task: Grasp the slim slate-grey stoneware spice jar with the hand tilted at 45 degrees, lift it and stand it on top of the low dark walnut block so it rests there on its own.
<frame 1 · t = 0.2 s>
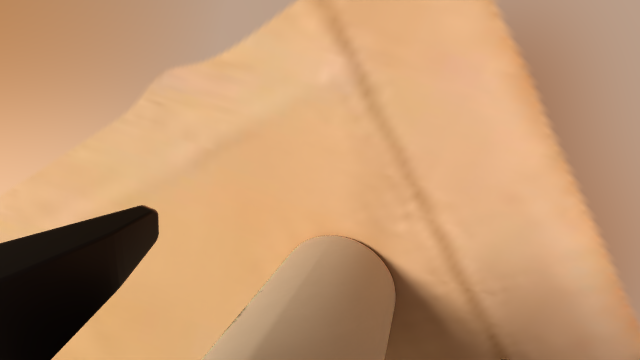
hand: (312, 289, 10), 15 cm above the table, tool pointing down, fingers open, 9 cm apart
travel mug: (338, 286, 27), on the table
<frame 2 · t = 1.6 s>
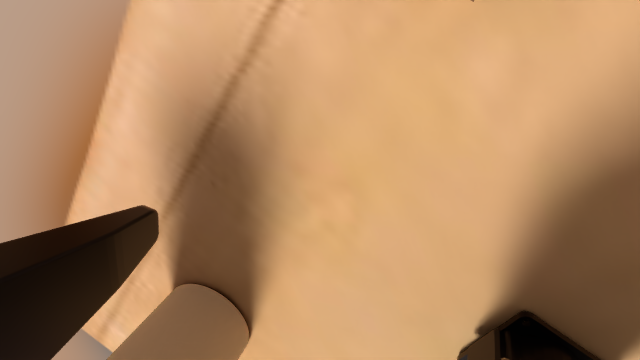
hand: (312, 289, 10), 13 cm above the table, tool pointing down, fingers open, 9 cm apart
travel mug: (212, 315, 35), on the table
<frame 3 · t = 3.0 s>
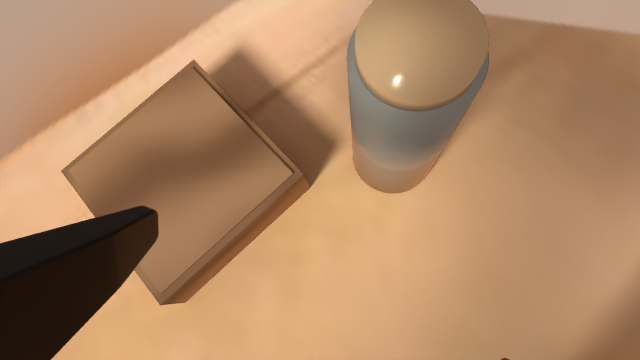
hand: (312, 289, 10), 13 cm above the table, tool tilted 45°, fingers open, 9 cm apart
walnut block: (199, 185, 25), on the table
spice jar: (392, 155, 24), on the table
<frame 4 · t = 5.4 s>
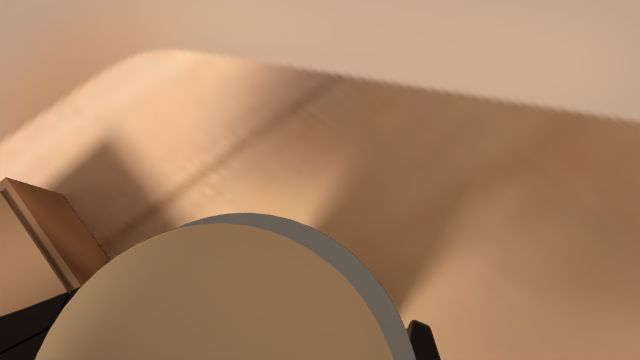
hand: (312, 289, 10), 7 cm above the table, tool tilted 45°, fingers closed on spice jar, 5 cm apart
spice jar: (317, 320, 16), on the table, touching gripper
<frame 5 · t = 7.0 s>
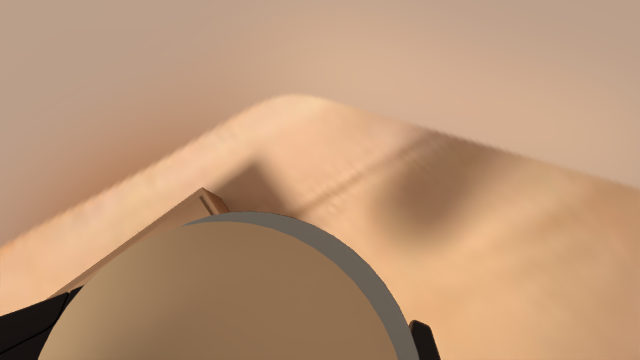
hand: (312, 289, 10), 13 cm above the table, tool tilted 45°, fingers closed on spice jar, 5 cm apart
walnut block: (195, 317, 23), on the table
spice jar: (318, 320, 16), point 7 cm above the table, touching gripper
when the fingers open (10 cm above the table, at t = 8.6 s): spice jar stays where it is, resting on walnut block.
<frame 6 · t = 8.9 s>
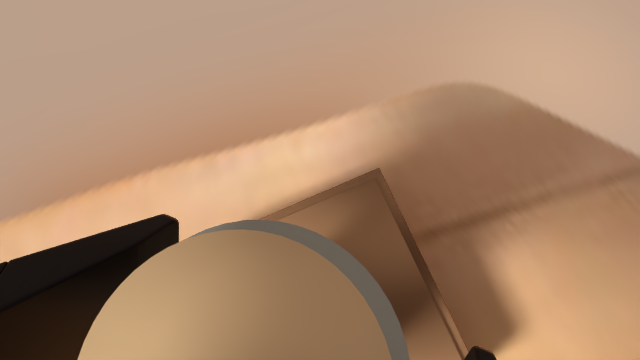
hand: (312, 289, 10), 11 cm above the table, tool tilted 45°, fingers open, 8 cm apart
walnut block: (326, 313, 20), on the table
spice jar: (319, 320, 16), point 3 cm above the table, touching walnut block
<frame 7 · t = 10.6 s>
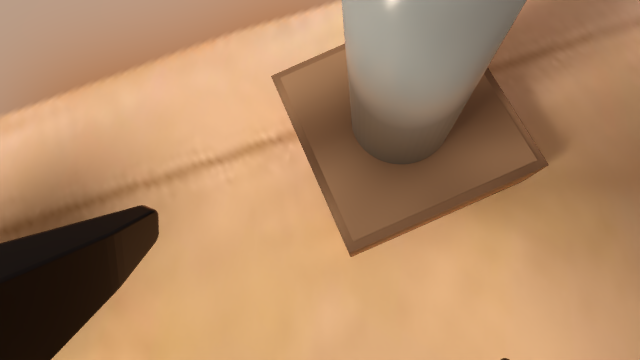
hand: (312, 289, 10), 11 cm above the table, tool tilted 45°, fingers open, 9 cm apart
walnut block: (395, 138, 22), on the table
spice jar: (400, 117, 19), point 3 cm above the table, touching walnut block
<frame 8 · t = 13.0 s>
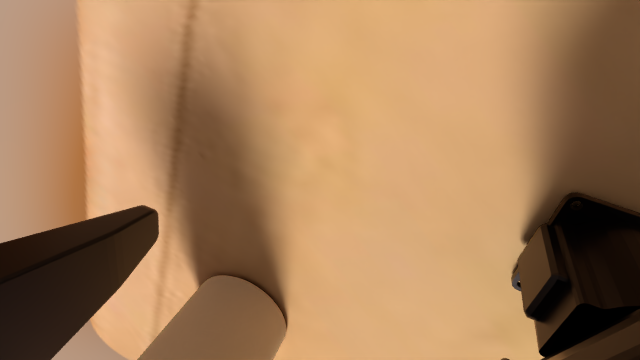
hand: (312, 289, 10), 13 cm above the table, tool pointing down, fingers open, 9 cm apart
travel mug: (244, 309, 33), on the table
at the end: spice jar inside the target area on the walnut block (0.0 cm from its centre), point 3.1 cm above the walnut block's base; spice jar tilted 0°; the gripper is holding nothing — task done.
